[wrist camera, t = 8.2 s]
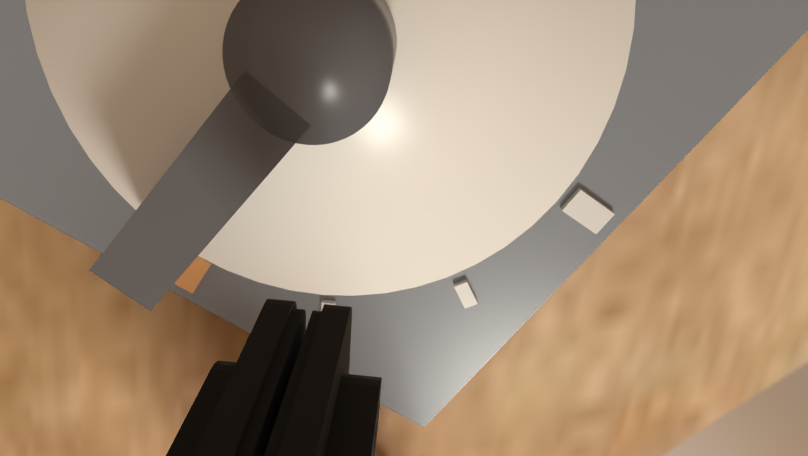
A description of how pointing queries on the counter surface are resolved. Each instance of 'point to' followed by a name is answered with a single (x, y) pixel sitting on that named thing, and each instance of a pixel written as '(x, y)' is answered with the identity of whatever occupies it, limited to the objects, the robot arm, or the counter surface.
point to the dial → (329, 129)
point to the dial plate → (477, 285)
